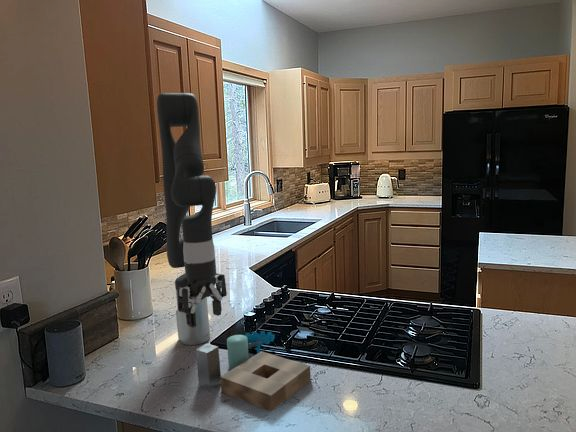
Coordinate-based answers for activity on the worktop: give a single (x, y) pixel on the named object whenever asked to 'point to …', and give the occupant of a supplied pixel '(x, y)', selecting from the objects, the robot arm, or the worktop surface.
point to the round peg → (237, 350)
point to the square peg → (208, 366)
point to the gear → (259, 339)
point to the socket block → (265, 380)
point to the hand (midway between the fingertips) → (205, 320)
